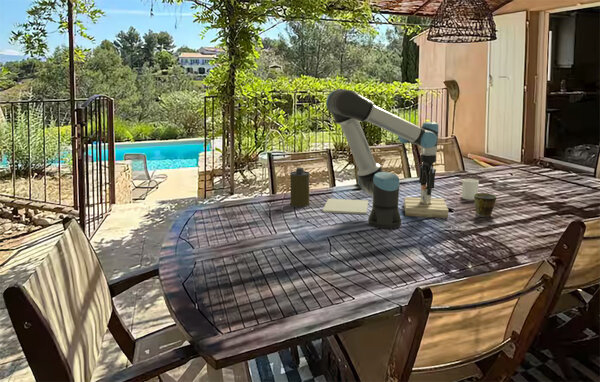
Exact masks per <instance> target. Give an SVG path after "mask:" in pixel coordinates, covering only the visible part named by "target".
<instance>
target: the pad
mask: <svg viewBox="0 0 600 382" xmlns="http://www.w3.org/2000/svg"><path fill="white" fill-rule="evenodd" d="M368 207H369V200H366V199H365V200H364V199H344V198H342V199H341V198H328V199H327V200H326V203H325V204H324V206H323V209H322V213H332V214H334V213H335V214H352V215H367V214H368Z"/></svg>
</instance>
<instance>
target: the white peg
mask: <svg viewBox="0 0 600 382" xmlns="http://www.w3.org/2000/svg"><path fill="white" fill-rule="evenodd" d="M425 188H427V185H426V184H424V185H421V184H420V196H421V200H420V205H430V201H425V192H426V189H425Z"/></svg>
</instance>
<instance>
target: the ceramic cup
mask: <svg viewBox="0 0 600 382" xmlns="http://www.w3.org/2000/svg"><path fill="white" fill-rule="evenodd" d="M474 199H475V200H474V205H475V207H474V208H475V215H476V216H478V217H480V218H489V217H491V216H492V212H493V210H494V206H495V204H496V201H497V195H495V194H491V193H487V192H480V193H479V192H478V193H477V194H475V195H474Z"/></svg>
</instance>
